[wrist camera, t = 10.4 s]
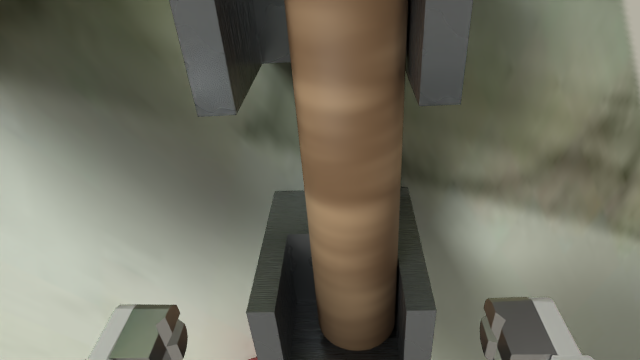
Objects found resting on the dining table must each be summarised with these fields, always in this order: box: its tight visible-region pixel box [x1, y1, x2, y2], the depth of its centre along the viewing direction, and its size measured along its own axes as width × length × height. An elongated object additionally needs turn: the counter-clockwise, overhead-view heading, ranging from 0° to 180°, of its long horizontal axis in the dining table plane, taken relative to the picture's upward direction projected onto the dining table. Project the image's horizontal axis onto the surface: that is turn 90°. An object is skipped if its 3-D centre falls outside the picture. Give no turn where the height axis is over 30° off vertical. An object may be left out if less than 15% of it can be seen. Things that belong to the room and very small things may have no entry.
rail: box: [284, 0, 408, 351], centre depth 18 cm, size 17×4×4 cm
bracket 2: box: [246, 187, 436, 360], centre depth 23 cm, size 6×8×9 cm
